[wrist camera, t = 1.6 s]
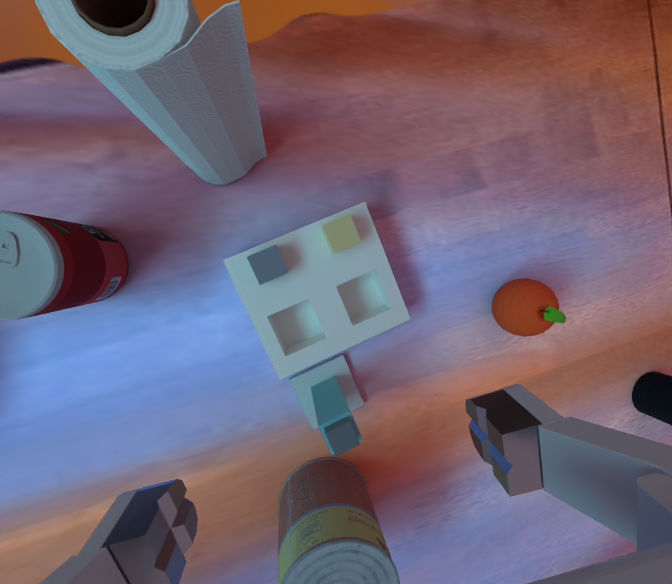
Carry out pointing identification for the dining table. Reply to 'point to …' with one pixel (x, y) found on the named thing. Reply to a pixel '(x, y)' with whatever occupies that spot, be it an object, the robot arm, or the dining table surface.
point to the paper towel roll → (172, 75)
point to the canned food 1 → (55, 265)
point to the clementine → (526, 307)
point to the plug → (334, 417)
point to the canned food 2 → (330, 528)
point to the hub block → (318, 289)
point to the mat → (319, 374)
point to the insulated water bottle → (654, 396)
